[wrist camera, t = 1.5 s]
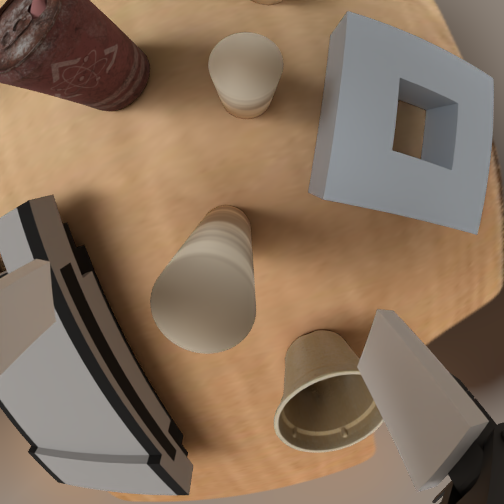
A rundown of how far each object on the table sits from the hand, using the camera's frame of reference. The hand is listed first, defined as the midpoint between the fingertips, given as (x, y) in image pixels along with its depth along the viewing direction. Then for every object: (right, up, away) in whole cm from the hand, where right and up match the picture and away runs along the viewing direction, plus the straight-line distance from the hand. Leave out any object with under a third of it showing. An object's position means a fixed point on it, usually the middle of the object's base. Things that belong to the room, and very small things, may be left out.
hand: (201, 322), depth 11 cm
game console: (-20, -9, +18) cm, 28 cm away
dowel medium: (+1, +15, +11) cm, 18 cm away
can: (-9, +17, +10) cm, 22 cm away
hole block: (+14, +13, +12) cm, 22 cm away
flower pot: (+8, -7, +18) cm, 21 cm away
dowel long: (0, +4, +14) cm, 14 cm away
